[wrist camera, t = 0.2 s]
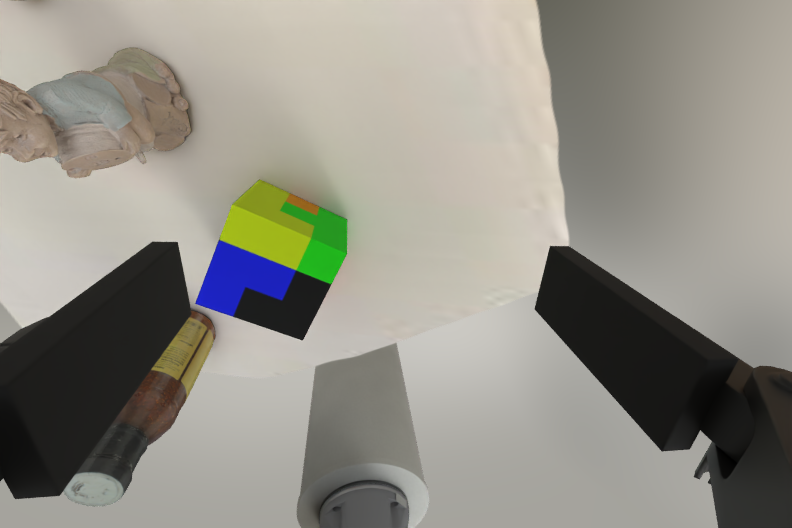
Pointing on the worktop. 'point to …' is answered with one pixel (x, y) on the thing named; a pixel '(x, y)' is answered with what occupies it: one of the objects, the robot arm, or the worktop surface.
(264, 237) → the puzzle toy
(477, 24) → the worktop surface
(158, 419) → the sauce bottle
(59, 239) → the worktop surface
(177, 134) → the figurine
